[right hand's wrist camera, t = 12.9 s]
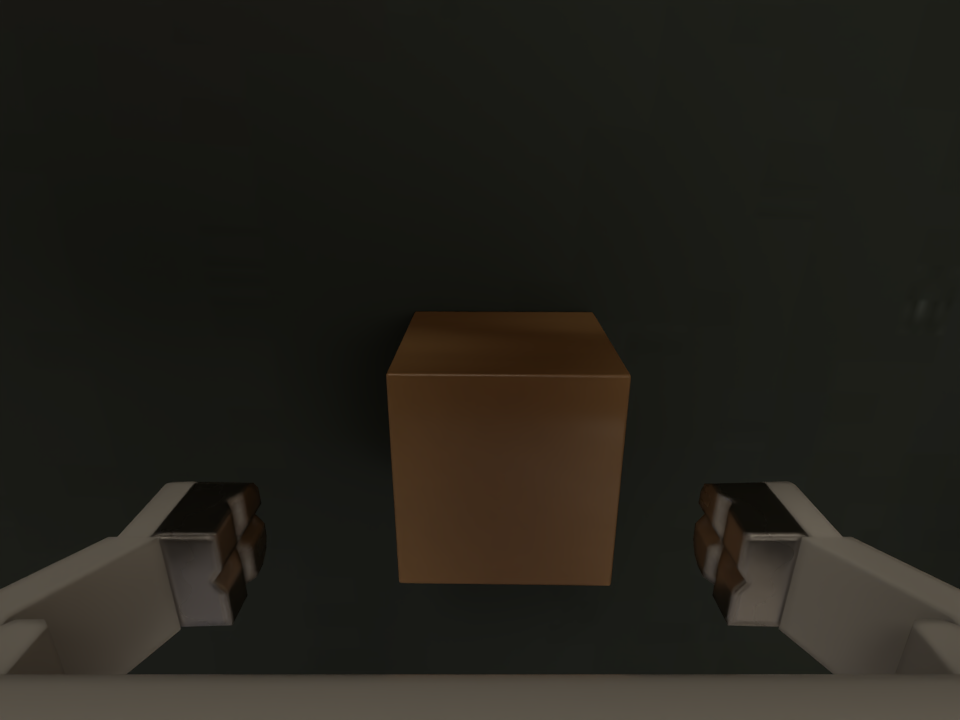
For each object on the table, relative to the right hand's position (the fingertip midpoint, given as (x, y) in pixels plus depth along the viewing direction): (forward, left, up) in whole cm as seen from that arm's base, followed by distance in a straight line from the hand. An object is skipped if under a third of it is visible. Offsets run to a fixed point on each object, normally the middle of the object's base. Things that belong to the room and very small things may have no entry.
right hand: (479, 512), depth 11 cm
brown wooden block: (+1, 0, -6) cm, 6 cm away
